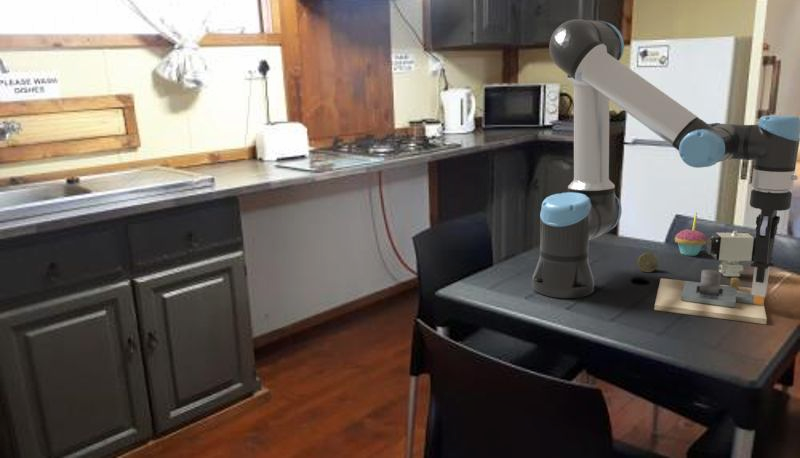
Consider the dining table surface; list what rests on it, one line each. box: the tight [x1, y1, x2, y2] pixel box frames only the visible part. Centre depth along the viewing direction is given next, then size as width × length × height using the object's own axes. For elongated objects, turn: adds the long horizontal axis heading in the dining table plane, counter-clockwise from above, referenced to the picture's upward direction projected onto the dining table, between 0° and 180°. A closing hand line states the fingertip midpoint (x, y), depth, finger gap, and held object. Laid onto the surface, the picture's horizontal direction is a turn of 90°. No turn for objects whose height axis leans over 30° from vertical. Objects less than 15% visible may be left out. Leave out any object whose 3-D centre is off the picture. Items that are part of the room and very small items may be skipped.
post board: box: [654, 269, 768, 325], centre depth 143 cm, size 22×20×7 cm
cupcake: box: [674, 212, 708, 257], centre depth 180 cm, size 9×8×12 cm
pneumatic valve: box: [706, 230, 756, 278], centre depth 161 cm, size 6×12×12 cm, turn 79°
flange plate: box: [681, 280, 766, 307], centre depth 142 cm, size 16×11×5 cm, turn 61°
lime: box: [637, 252, 659, 273], centre depth 167 cm, size 4×5×5 cm
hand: (758, 294), depth 137 cm, fingers closed
